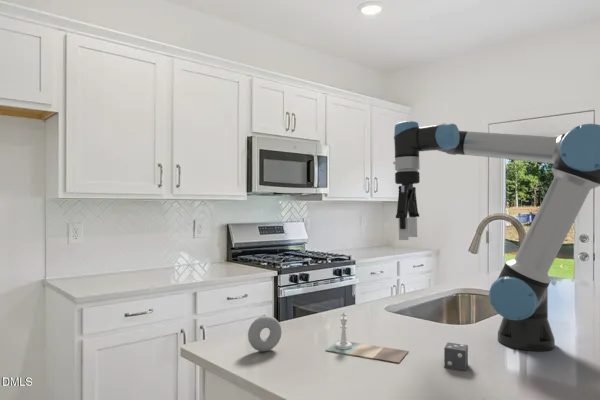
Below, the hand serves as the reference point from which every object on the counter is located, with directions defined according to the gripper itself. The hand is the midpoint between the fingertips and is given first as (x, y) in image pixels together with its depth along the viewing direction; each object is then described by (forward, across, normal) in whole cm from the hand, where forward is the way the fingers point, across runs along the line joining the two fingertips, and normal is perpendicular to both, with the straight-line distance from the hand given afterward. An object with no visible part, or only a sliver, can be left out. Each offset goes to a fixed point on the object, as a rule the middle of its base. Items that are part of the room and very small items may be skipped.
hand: (408, 238), depth 140 cm
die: (+31, +21, +16) cm, 41 cm away
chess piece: (+30, +20, -15) cm, 39 cm away
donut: (+30, +33, -34) cm, 56 cm away
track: (+30, +20, -8) cm, 37 cm away
